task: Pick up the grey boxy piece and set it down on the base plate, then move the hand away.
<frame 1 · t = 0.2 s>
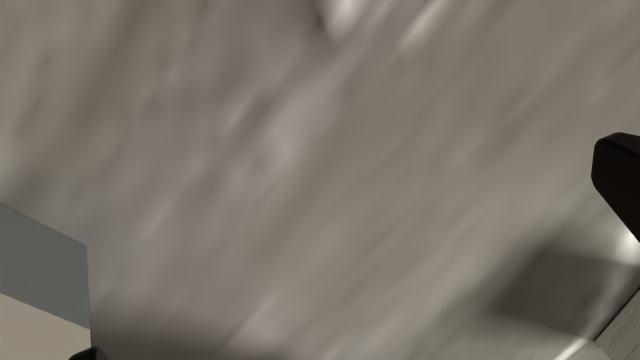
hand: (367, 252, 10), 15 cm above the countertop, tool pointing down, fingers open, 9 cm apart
grey boxy piece: (4, 259, 24), on the countertop
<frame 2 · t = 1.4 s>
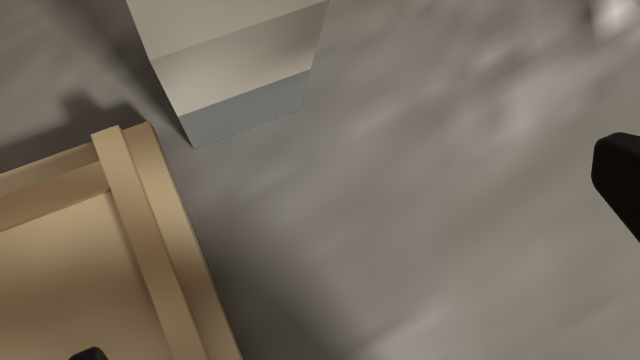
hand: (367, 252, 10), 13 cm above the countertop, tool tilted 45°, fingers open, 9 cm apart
base plate: (63, 315, 22), on the countertop
grey boxy piece: (226, 78, 24), on the countertop
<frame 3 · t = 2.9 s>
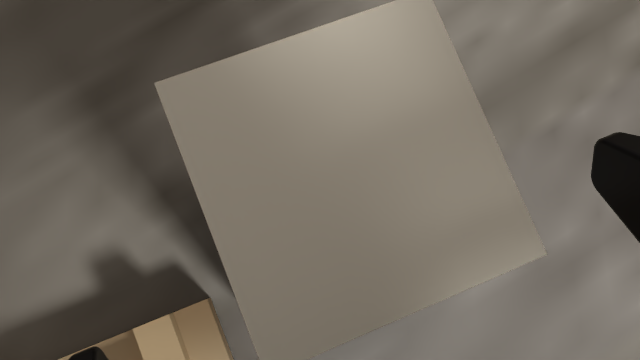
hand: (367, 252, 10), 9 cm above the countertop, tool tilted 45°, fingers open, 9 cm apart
grey boxy piece: (302, 228, 19), on the countertop
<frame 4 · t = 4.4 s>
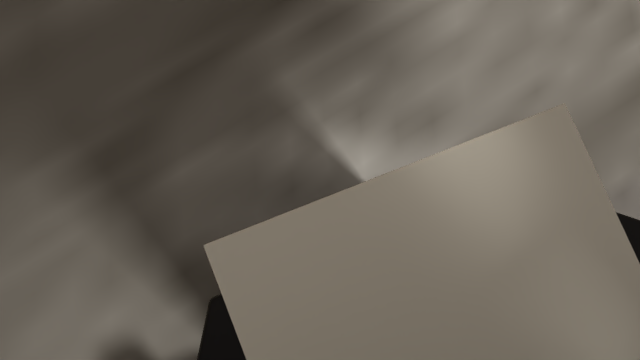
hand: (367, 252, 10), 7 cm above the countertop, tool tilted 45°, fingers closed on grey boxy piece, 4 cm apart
grey boxy piece: (343, 310, 16), on the countertop, touching gripper
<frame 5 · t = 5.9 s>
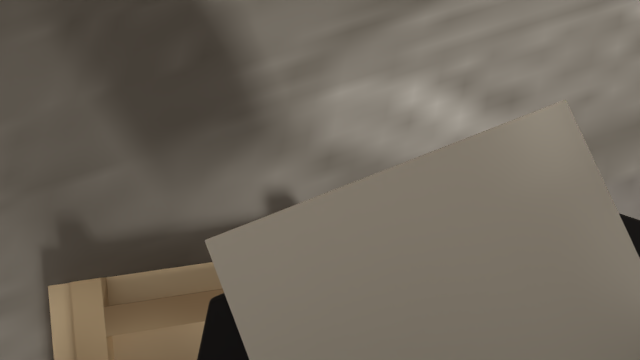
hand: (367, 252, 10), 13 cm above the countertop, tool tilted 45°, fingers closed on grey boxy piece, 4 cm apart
grey boxy piece: (343, 309, 16), point 7 cm above the countertop, touching gripper
when the fingers open (9 cm above the countertop, at t = 7.7 s): grey boxy piece drops 1 cm, resting on base plate.
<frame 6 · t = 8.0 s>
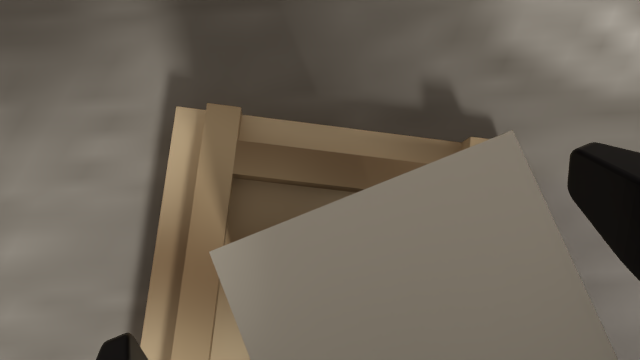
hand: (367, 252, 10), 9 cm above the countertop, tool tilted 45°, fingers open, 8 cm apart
base plate: (331, 305, 19), on the countertop
grey boxy piece: (335, 307, 17), point 1 cm above the countertop, touching base plate
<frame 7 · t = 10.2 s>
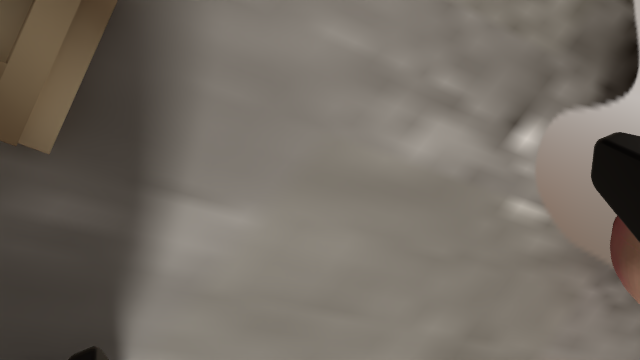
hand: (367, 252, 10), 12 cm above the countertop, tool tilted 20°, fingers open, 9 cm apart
decorative fruit: (613, 226, 36), on the countertop
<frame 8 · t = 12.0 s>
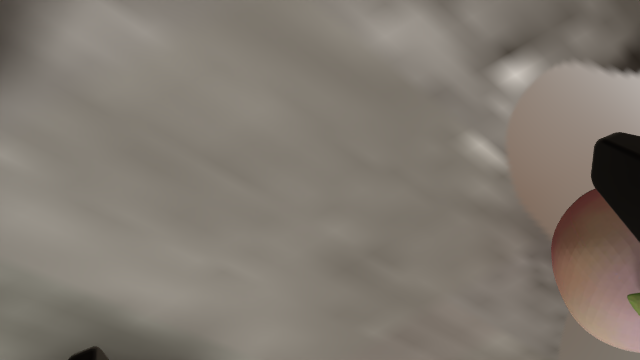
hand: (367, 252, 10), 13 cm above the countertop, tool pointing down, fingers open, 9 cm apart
decorative fruit: (574, 206, 33), on the countertop
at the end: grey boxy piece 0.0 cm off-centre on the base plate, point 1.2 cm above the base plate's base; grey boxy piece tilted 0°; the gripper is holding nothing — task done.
